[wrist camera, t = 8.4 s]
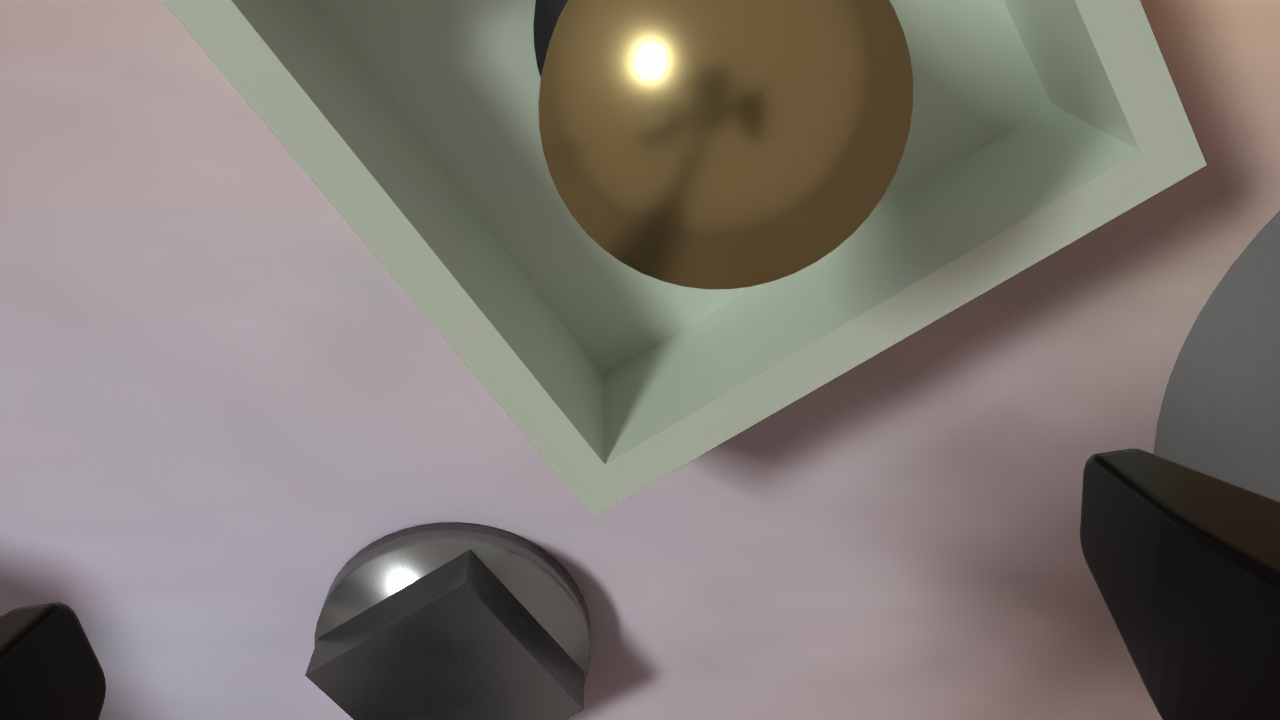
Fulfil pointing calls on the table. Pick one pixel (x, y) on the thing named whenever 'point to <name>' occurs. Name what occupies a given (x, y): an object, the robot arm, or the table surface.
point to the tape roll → (1231, 377)
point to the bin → (663, 312)
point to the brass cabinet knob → (721, 128)
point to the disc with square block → (453, 629)
